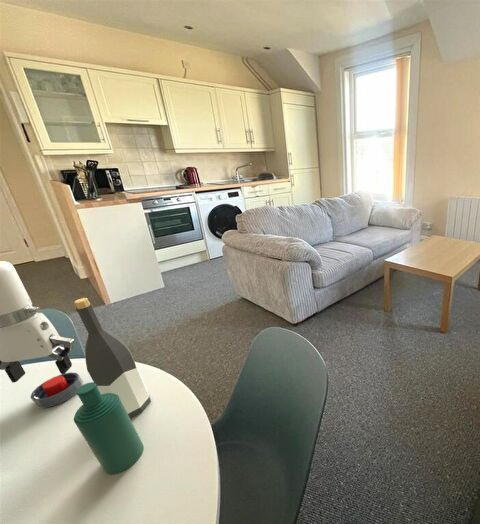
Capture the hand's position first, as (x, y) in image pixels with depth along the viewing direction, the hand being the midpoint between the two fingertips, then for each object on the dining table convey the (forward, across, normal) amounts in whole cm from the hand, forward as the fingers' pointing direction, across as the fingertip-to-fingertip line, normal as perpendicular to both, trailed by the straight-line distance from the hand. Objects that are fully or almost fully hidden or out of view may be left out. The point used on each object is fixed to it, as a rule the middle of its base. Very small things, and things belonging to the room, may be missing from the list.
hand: (43, 374), depth 71 cm
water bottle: (+7, -25, +24) cm, 35 cm away
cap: (+7, -1, 0) cm, 7 cm away
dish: (+7, -1, 0) cm, 7 cm away
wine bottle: (+7, -21, +10) cm, 24 cm away
